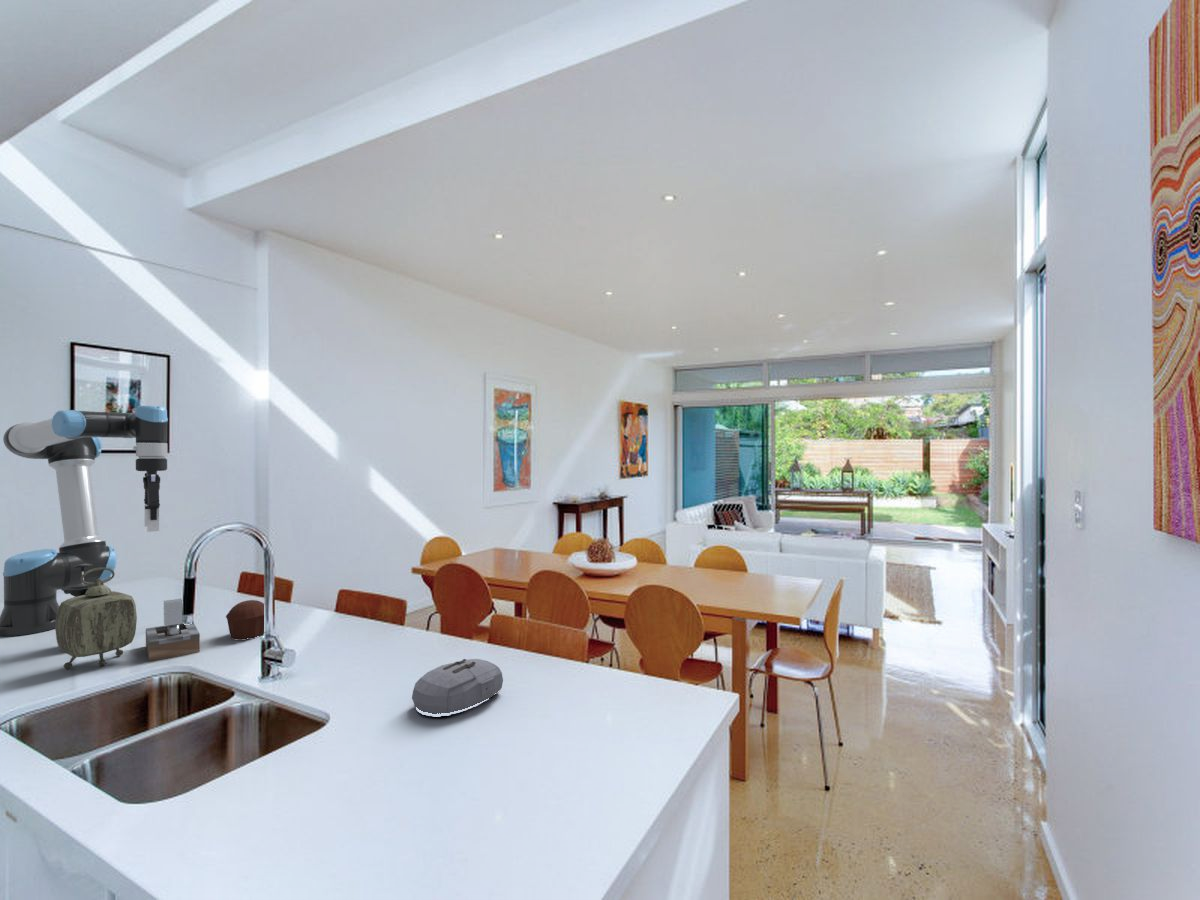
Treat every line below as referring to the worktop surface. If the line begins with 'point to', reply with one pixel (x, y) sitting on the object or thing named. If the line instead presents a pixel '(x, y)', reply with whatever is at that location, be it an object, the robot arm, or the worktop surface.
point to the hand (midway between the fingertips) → (151, 528)
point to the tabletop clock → (95, 621)
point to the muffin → (246, 620)
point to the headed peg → (173, 616)
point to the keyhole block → (172, 642)
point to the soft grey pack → (457, 686)
